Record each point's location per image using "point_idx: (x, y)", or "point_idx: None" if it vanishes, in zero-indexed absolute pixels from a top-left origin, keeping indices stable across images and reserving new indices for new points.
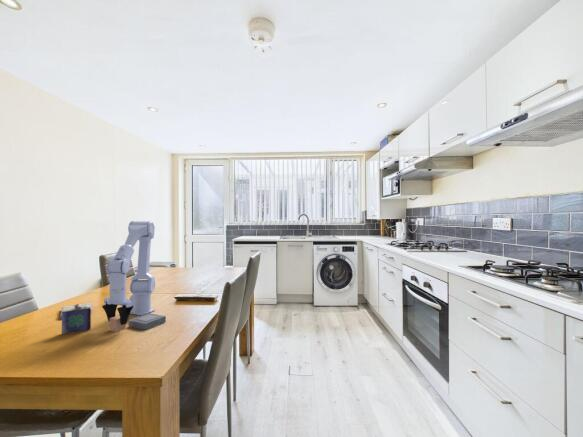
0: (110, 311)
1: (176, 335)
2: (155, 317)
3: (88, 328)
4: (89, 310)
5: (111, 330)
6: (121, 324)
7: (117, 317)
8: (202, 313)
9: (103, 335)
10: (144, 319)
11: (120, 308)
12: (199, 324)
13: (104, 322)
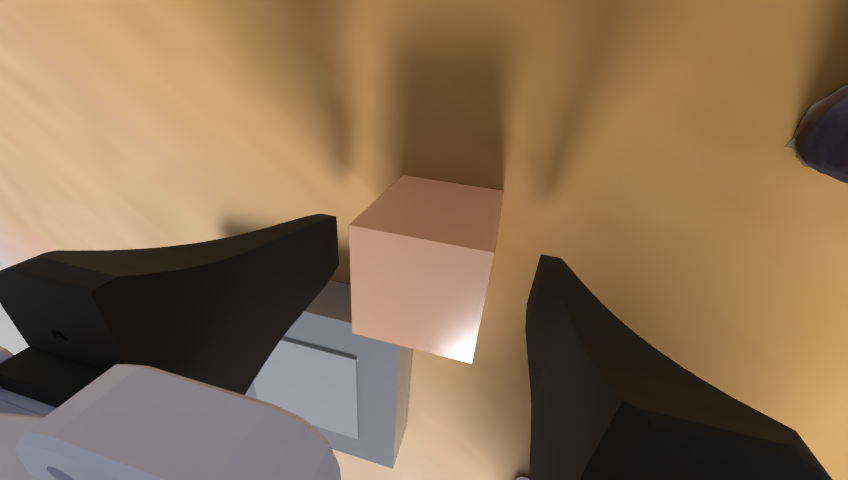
0: (554, 369)
1: (30, 228)
2: (260, 394)
3: (819, 127)
4: None
5: (471, 187)
6: (322, 214)
7: (409, 291)
8: None
9: (441, 61)
10: (289, 358)
11: (14, 282)
12: None
13: (762, 351)
